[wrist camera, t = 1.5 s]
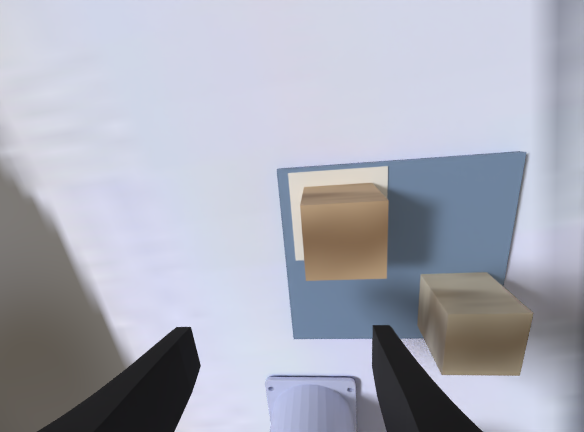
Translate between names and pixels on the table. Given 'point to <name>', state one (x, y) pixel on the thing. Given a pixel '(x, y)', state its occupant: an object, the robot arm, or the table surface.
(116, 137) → the table surface
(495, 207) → the board
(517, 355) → the maple block
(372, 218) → the oak block
